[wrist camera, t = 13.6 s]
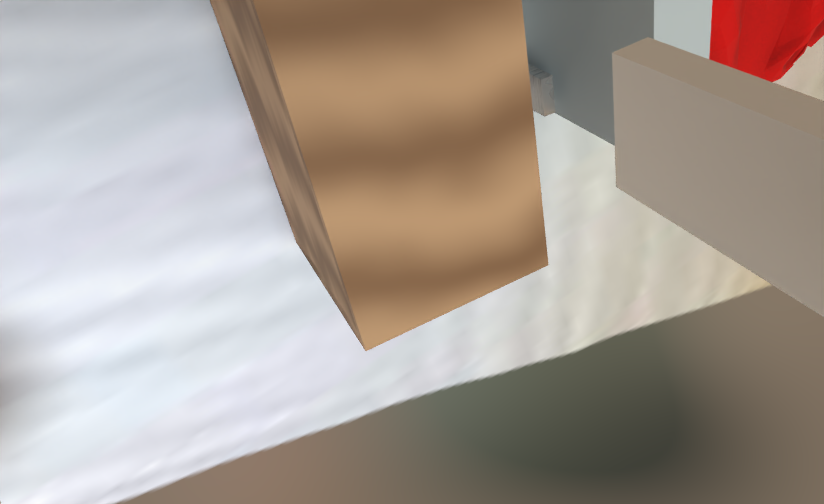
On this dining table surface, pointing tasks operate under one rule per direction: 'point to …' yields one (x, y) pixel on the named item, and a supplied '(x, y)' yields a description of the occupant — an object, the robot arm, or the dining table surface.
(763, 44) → the cloth
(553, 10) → the door
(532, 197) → the cabinet
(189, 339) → the dining table surface
